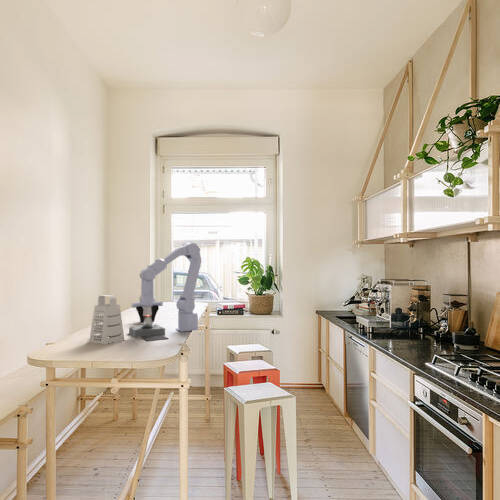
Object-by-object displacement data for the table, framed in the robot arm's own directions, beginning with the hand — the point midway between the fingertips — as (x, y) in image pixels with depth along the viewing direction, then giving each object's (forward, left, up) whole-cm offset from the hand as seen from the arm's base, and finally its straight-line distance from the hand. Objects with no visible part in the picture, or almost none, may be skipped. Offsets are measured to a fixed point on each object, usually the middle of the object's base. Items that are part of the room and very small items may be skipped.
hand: (147, 321), depth 202 cm
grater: (+20, +8, -6) cm, 23 cm away
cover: (0, 0, -4) cm, 4 cm away
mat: (0, +12, -6) cm, 13 cm away
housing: (0, 0, -6) cm, 6 cm away
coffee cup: (-11, -38, -6) cm, 40 cm away
